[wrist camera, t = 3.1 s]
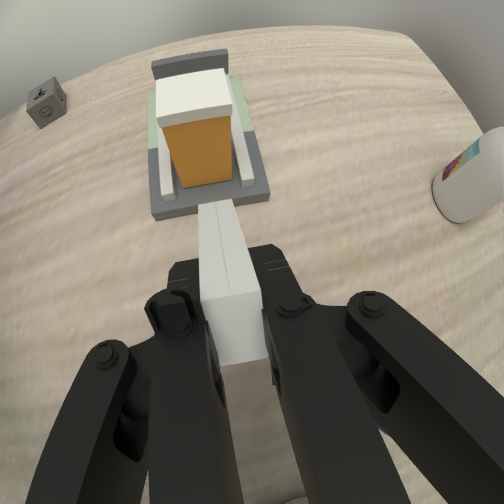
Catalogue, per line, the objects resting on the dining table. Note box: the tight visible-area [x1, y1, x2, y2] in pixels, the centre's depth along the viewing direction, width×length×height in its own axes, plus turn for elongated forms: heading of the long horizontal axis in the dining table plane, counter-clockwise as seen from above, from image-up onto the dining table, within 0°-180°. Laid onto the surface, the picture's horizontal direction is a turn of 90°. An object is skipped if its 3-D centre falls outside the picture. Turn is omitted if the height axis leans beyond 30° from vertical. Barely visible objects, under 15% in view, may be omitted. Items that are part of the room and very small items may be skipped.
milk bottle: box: [432, 127, 504, 223], centre depth 22 cm, size 8×8×20 cm
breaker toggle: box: [156, 68, 232, 188], centre depth 23 cm, size 4×5×11 cm
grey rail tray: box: [148, 49, 270, 221], centre depth 28 cm, size 18×12×7 cm, turn 12°
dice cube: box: [26, 77, 66, 129], centre depth 30 cm, size 5×5×5 cm
